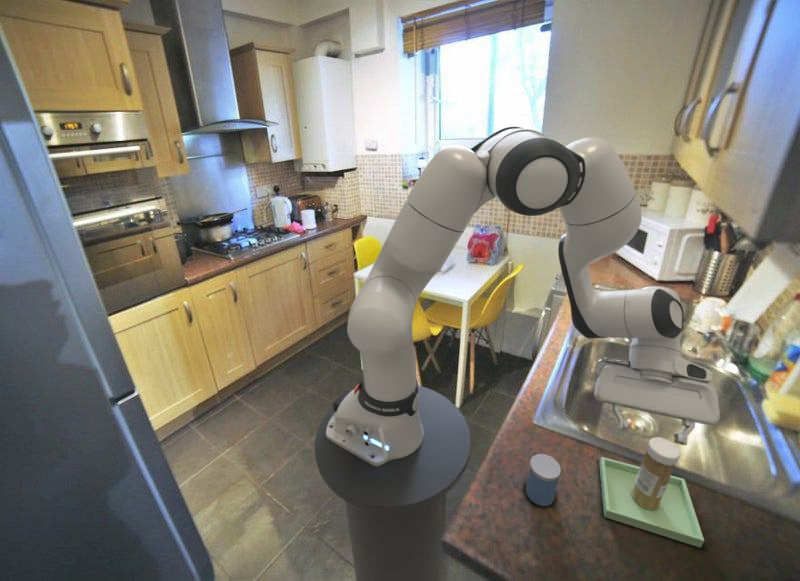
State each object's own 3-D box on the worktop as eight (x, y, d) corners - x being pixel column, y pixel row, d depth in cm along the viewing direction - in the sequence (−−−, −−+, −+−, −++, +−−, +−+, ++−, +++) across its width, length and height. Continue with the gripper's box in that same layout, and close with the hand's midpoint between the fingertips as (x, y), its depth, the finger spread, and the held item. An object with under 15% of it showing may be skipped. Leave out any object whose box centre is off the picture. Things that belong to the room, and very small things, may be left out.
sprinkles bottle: (664, 511, 65) (687, 458, 60) (637, 510, 66) (657, 456, 60) (651, 488, 69) (671, 436, 64) (625, 487, 70) (643, 435, 64)
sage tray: (604, 517, 65) (606, 510, 64) (599, 463, 75) (601, 456, 75) (700, 548, 60) (704, 540, 59) (681, 485, 70) (684, 478, 69)
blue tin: (524, 501, 68) (529, 472, 65) (526, 478, 73) (531, 450, 69) (554, 510, 66) (560, 482, 63) (554, 486, 71) (561, 458, 68)
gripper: (599, 352, 75) (593, 421, 71) (723, 374, 67) (724, 453, 63) (594, 358, 80) (587, 423, 76) (708, 379, 73) (707, 452, 69)
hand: (650, 437), depth 70 cm, fingers open, 8 cm apart
